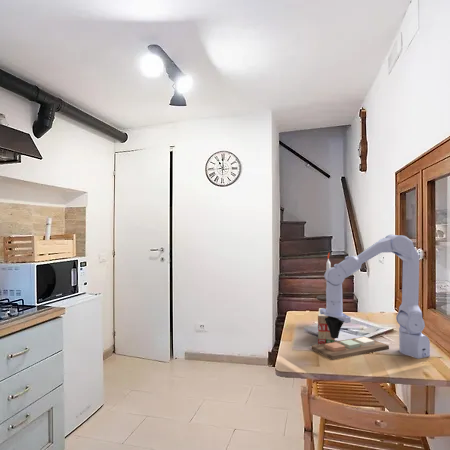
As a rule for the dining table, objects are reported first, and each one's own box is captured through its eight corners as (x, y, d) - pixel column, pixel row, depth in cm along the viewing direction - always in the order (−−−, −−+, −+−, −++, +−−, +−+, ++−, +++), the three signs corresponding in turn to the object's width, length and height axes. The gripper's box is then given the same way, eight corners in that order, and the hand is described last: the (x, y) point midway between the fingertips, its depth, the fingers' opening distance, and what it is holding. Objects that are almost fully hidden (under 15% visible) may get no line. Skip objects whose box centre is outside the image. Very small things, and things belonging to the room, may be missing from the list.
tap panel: (388, 352, 135) (388, 345, 135) (332, 363, 125) (332, 356, 125) (364, 342, 147) (364, 336, 147) (311, 352, 136) (311, 345, 136)
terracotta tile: (345, 352, 132) (345, 346, 132) (334, 354, 130) (333, 348, 130) (335, 348, 136) (335, 342, 136) (325, 350, 135) (324, 344, 134)
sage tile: (360, 349, 135) (360, 343, 135) (349, 351, 133) (349, 345, 133) (350, 345, 139) (350, 339, 139) (340, 347, 137) (340, 341, 137)
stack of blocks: (320, 330, 162) (319, 303, 162) (334, 331, 160) (334, 303, 160) (318, 346, 142) (317, 315, 142) (334, 347, 140) (334, 315, 140)
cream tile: (374, 347, 137) (374, 340, 137) (364, 349, 135) (364, 342, 135) (364, 343, 142) (364, 337, 142) (354, 345, 140) (354, 338, 140)
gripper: (313, 298, 138) (313, 333, 138) (339, 305, 125) (339, 345, 125) (328, 296, 141) (328, 331, 141) (355, 303, 128) (355, 342, 128)
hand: (334, 337), depth 133 cm, fingers closed
